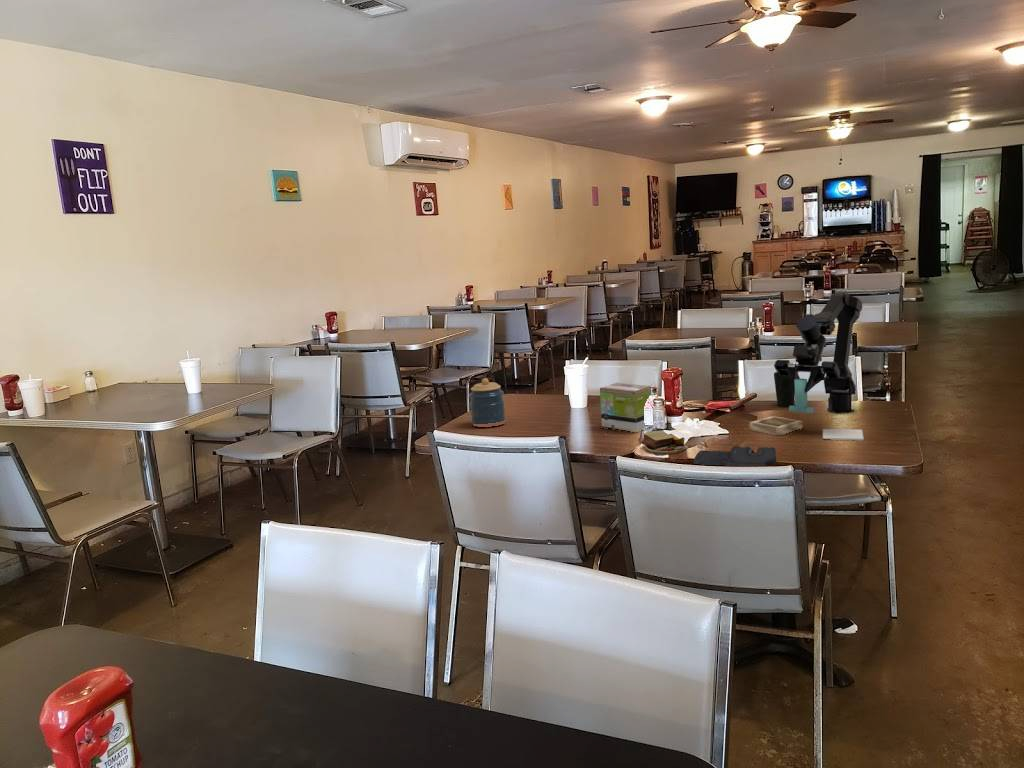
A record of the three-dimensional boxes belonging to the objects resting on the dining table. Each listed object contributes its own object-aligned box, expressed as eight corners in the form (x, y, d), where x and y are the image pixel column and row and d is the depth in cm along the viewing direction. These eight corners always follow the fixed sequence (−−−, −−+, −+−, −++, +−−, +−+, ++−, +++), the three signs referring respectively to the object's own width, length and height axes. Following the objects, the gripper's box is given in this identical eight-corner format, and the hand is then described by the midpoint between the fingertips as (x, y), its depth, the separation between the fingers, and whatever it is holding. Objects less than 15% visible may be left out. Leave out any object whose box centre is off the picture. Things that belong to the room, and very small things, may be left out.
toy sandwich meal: (656, 457, 221) (655, 442, 220) (636, 447, 233) (635, 432, 233) (694, 451, 224) (693, 436, 223) (672, 441, 237) (671, 427, 236)
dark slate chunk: (698, 456, 219) (697, 440, 218) (778, 458, 211) (777, 442, 210) (690, 472, 205) (689, 455, 204) (775, 474, 197) (775, 457, 196)
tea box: (601, 429, 260) (598, 387, 258) (618, 422, 267) (616, 382, 265) (636, 433, 250) (634, 390, 247) (654, 427, 256) (652, 384, 254)
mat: (822, 430, 234) (822, 429, 234) (861, 431, 230) (861, 429, 230) (822, 439, 224) (822, 438, 224) (863, 440, 220) (863, 438, 220)
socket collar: (772, 423, 248) (772, 416, 248) (802, 428, 239) (802, 421, 238) (749, 430, 242) (749, 422, 242) (779, 435, 233) (779, 427, 232)
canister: (484, 430, 272) (480, 382, 269) (465, 425, 282) (460, 379, 279) (513, 423, 279) (509, 376, 276) (493, 419, 290) (489, 374, 287)
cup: (793, 402, 276) (793, 370, 274) (799, 407, 268) (798, 374, 266) (772, 404, 276) (771, 372, 274) (777, 408, 269) (776, 375, 267)
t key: (792, 409, 236) (791, 378, 234) (814, 411, 231) (814, 379, 230) (787, 411, 233) (787, 380, 232) (810, 413, 229) (809, 381, 227)
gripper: (775, 334, 237) (761, 374, 231) (836, 335, 225) (822, 378, 219) (786, 355, 244) (772, 395, 238) (845, 357, 232) (833, 399, 226)
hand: (799, 391), depth 230 cm, fingers closed on t key, 4 cm apart
